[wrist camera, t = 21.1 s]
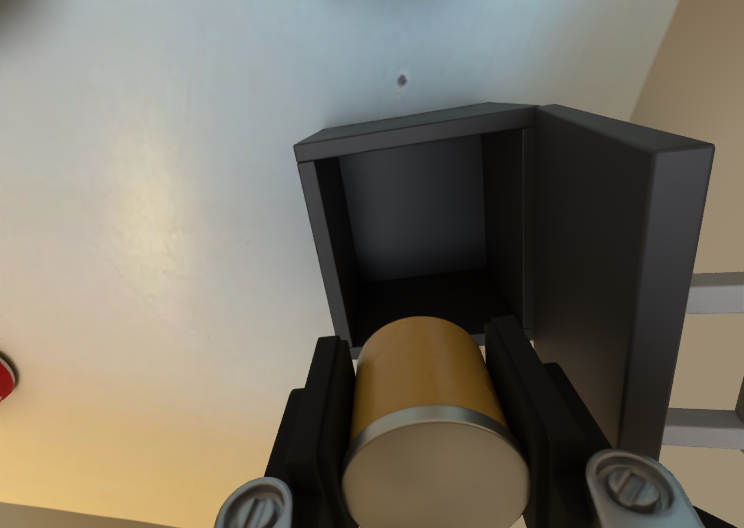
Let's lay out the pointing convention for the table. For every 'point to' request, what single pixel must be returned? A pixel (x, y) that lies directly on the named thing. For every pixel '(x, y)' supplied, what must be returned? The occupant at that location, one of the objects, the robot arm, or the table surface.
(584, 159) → the lid
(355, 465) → the coffee pod
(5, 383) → the beverage can
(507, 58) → the table surface
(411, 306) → the open storage bin
